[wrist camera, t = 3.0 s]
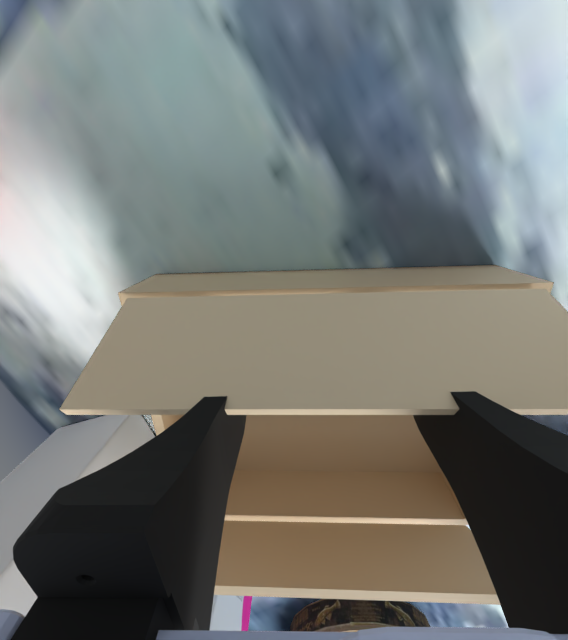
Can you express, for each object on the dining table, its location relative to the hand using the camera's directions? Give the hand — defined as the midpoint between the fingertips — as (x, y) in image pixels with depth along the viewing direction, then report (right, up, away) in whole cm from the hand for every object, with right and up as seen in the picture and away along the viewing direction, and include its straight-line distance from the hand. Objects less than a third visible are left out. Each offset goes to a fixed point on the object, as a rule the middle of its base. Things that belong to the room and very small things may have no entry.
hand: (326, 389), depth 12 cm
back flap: (+1, -10, +4) cm, 11 cm away
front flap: (0, +2, -1) cm, 2 cm away
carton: (+1, -2, +8) cm, 8 cm away
